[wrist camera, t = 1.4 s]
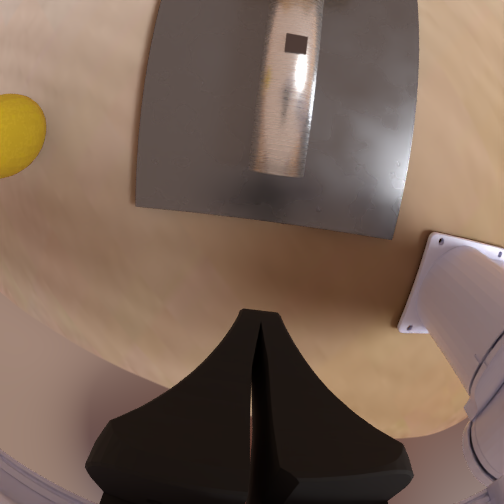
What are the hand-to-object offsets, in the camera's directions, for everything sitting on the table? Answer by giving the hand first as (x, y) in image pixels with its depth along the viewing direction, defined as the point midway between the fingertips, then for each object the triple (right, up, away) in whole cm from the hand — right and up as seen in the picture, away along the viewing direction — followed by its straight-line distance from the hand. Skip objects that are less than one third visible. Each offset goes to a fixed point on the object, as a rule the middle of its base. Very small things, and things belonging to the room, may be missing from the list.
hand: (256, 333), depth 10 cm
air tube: (+2, +13, +3) cm, 14 cm away
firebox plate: (+2, +16, +2) cm, 17 cm away
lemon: (-16, +12, +5) cm, 20 cm away
